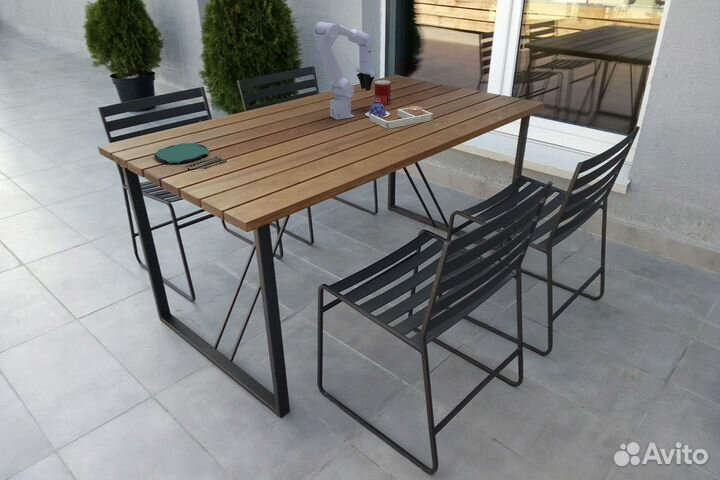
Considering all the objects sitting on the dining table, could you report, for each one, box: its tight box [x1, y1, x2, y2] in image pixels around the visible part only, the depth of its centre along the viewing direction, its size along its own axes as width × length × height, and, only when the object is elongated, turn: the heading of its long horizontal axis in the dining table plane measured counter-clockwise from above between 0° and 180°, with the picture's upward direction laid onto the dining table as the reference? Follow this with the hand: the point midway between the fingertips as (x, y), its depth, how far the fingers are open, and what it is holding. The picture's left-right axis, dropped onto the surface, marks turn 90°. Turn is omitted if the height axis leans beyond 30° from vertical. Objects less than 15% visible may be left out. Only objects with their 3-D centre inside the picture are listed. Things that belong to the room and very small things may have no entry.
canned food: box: [374, 79, 391, 106], centre depth 277 cm, size 8×8×11 cm
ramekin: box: [407, 105, 423, 116], centre depth 254 cm, size 7×7×5 cm
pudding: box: [364, 103, 390, 119], centre depth 260 cm, size 12×12×5 cm
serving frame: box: [369, 107, 434, 130], centre depth 252 cm, size 25×15×3 cm, turn 119°
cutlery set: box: [153, 142, 228, 170], centre depth 212 cm, size 20×30×2 cm, turn 45°
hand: (365, 89), depth 265 cm, fingers open, 4 cm apart
